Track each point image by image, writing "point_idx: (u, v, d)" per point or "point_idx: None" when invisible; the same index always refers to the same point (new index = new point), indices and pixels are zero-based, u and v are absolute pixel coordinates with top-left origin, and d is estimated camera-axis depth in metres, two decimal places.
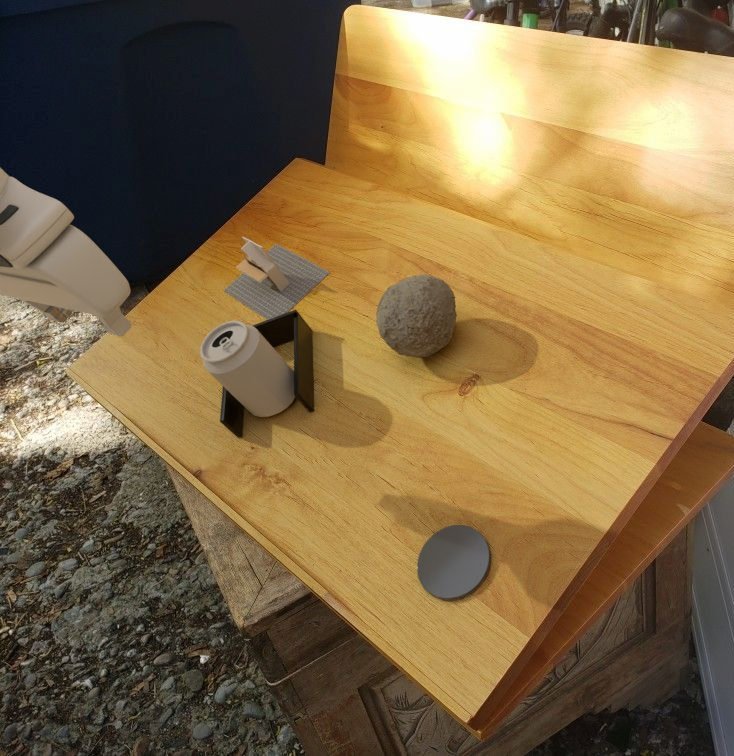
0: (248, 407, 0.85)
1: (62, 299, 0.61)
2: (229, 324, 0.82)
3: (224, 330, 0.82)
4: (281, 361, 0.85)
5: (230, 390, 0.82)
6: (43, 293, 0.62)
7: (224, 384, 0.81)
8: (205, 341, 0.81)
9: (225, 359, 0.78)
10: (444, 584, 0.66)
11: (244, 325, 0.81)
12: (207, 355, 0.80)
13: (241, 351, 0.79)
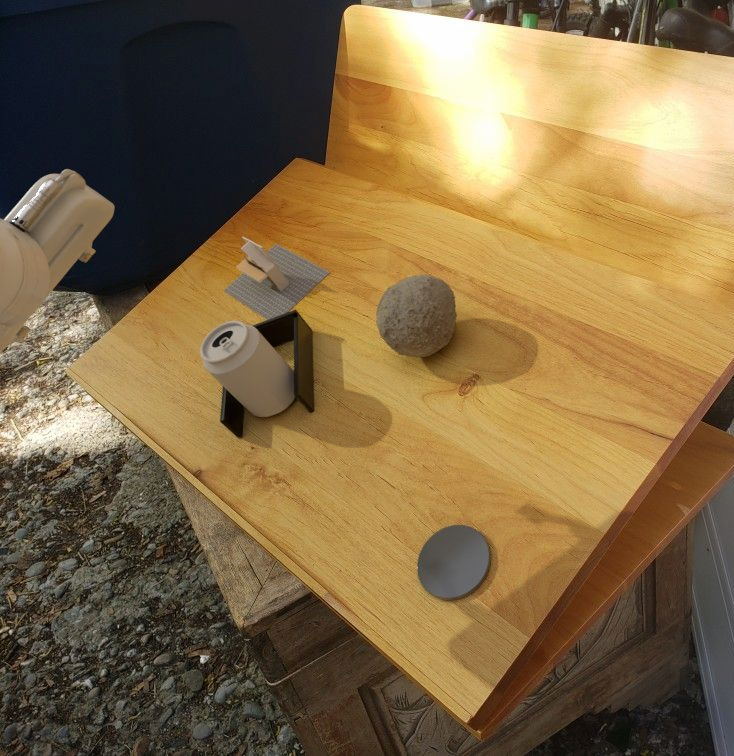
0: (248, 407, 0.85)
1: None
2: (229, 324, 0.82)
3: (224, 330, 0.82)
4: (281, 361, 0.85)
5: (230, 390, 0.82)
6: None
7: (224, 384, 0.81)
8: (205, 341, 0.81)
9: (225, 359, 0.78)
10: (444, 584, 0.66)
11: (244, 325, 0.81)
12: (207, 355, 0.80)
13: (241, 351, 0.79)
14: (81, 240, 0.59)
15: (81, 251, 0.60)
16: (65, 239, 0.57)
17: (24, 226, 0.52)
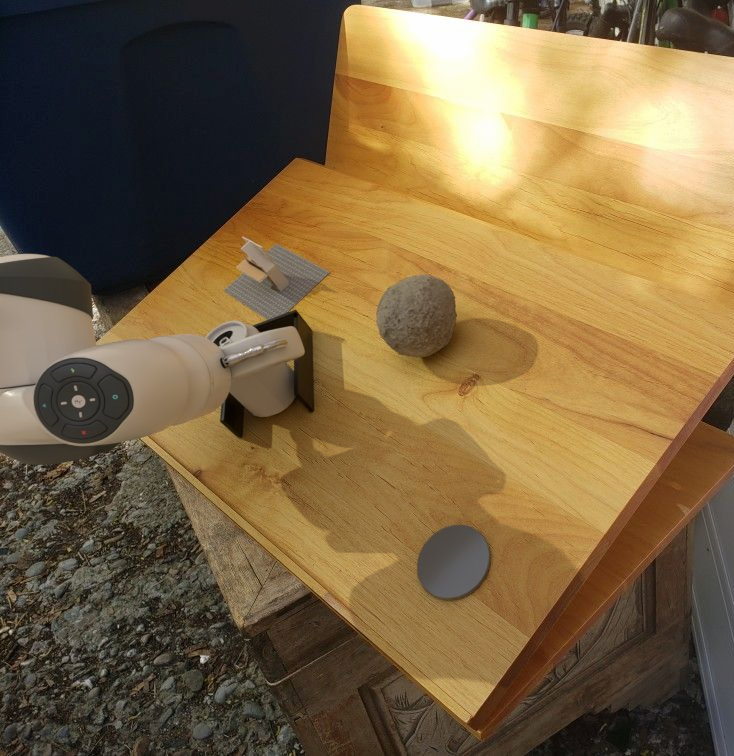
0: (248, 407, 0.85)
1: None
2: (229, 324, 0.82)
3: (224, 330, 0.82)
4: None
5: (230, 390, 0.82)
6: None
7: None
8: None
9: None
10: (444, 584, 0.66)
11: (244, 325, 0.81)
12: None
13: None
14: (267, 368, 0.76)
15: (265, 369, 0.77)
16: None
17: (227, 366, 0.69)
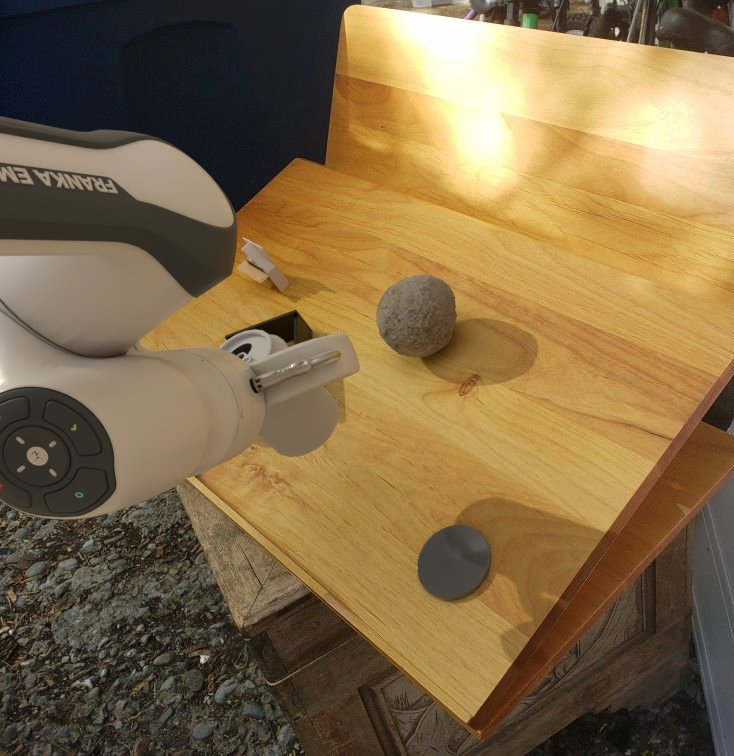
0: (273, 445, 0.64)
1: None
2: (246, 335, 0.61)
3: (240, 343, 0.61)
4: None
5: None
6: None
7: None
8: None
9: None
10: (444, 584, 0.66)
11: (267, 335, 0.59)
12: None
13: None
14: None
15: (307, 392, 0.57)
16: None
17: (260, 390, 0.49)
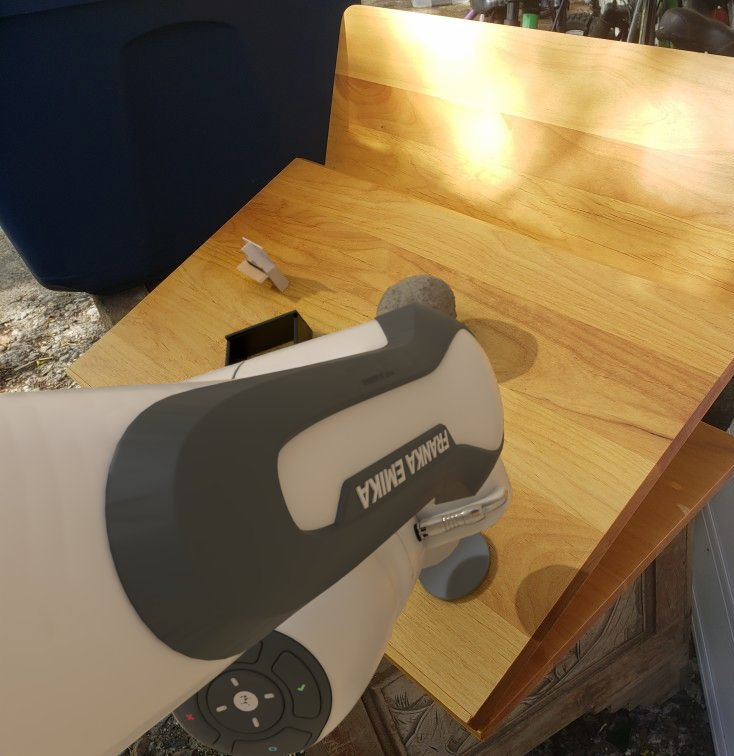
0: None
1: None
2: None
3: None
4: None
5: None
6: None
7: None
8: None
9: None
10: (444, 584, 0.66)
11: None
12: None
13: None
14: None
15: None
16: None
17: (424, 538, 0.44)
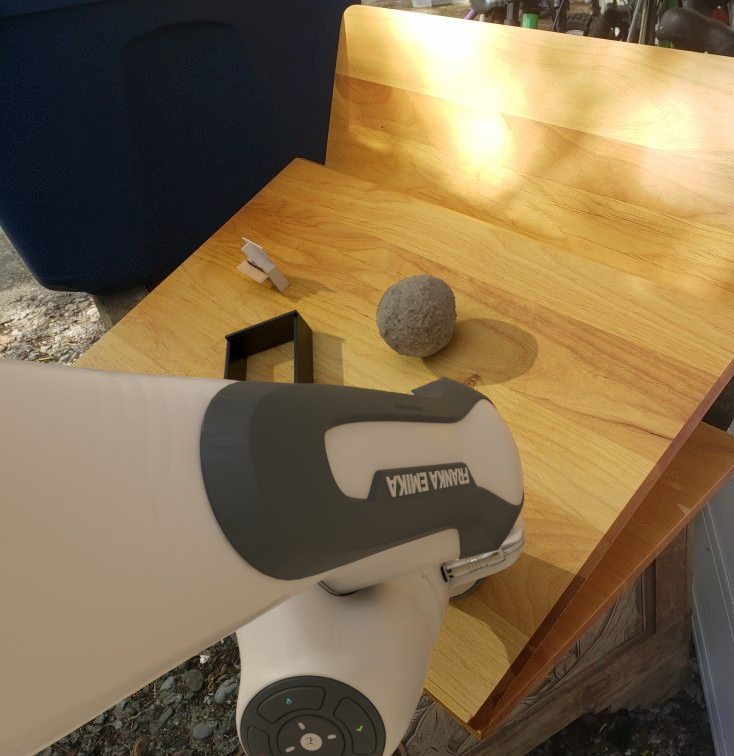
0: None
1: None
2: None
3: None
4: None
5: None
6: None
7: None
8: None
9: None
10: None
11: None
12: None
13: None
14: None
15: None
16: None
17: (450, 579, 0.48)
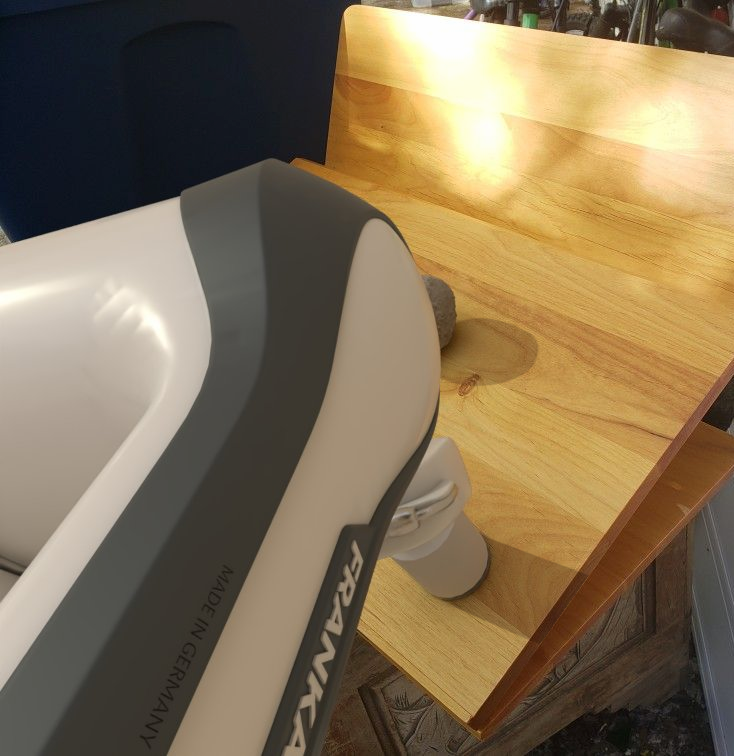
0: (426, 587, 0.63)
1: None
2: None
3: None
4: (472, 528, 0.63)
5: (409, 573, 0.60)
6: None
7: (404, 567, 0.59)
8: None
9: None
10: None
11: None
12: None
13: None
14: None
15: None
16: None
17: None
